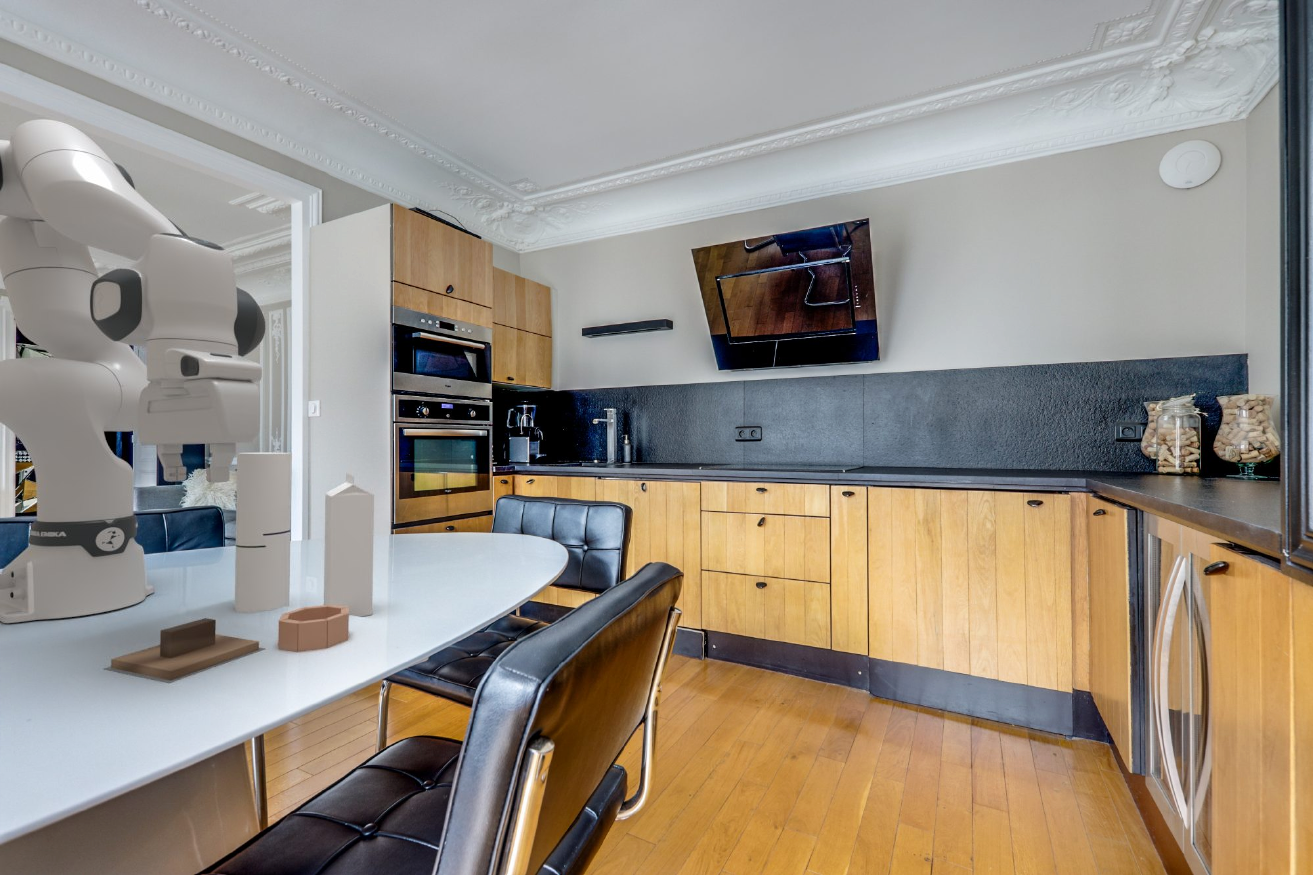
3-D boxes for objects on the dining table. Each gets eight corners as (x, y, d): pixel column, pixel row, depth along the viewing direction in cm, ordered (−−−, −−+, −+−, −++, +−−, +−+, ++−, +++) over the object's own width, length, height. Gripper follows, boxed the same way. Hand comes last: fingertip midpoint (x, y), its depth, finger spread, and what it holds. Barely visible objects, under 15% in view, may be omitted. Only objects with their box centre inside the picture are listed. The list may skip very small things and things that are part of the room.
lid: (111, 667, 67) (111, 632, 67) (202, 639, 77) (203, 609, 77) (171, 680, 64) (171, 643, 64) (258, 649, 73) (259, 617, 73)
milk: (329, 622, 88) (330, 475, 88) (323, 612, 93) (324, 472, 92) (373, 615, 91) (374, 474, 91) (365, 605, 96) (366, 471, 96)
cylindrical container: (295, 611, 92) (297, 453, 92) (240, 621, 87) (243, 454, 87) (281, 602, 97) (284, 452, 97) (229, 611, 92) (232, 452, 92)
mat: (102, 677, 67) (102, 668, 67) (203, 645, 77) (204, 637, 77) (168, 692, 63) (169, 682, 63) (265, 656, 74) (265, 648, 74)
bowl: (264, 655, 75) (265, 618, 75) (317, 635, 82) (318, 602, 82) (311, 663, 72) (311, 625, 72) (361, 642, 80) (362, 608, 80)
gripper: (119, 372, 73) (121, 482, 73) (211, 359, 64) (213, 485, 64) (178, 376, 79) (180, 478, 79) (270, 365, 70) (272, 481, 70)
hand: (196, 481), depth 72 cm, fingers open, 8 cm apart
